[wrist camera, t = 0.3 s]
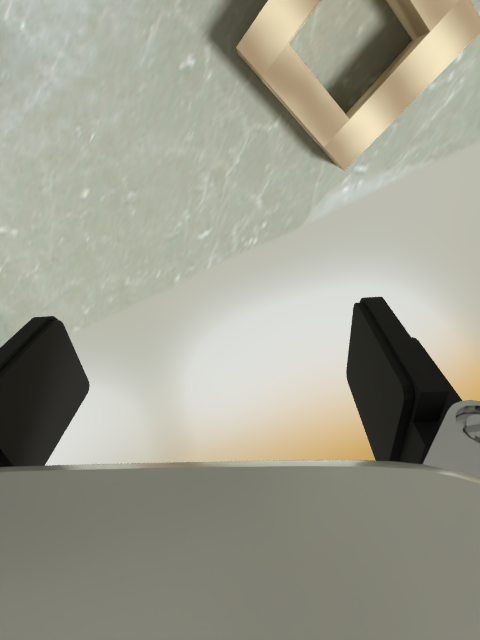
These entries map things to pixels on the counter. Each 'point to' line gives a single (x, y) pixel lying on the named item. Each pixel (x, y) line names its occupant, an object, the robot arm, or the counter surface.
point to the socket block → (382, 96)
